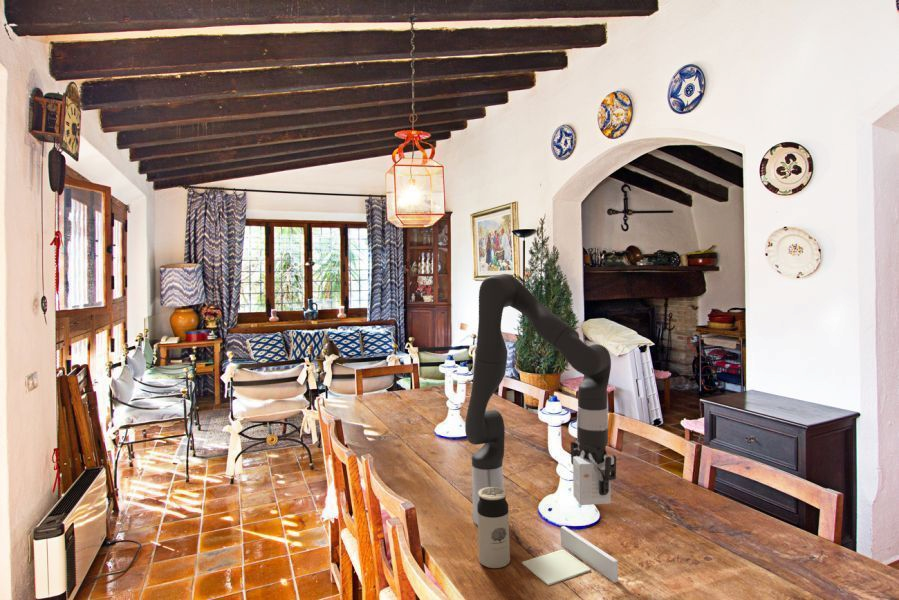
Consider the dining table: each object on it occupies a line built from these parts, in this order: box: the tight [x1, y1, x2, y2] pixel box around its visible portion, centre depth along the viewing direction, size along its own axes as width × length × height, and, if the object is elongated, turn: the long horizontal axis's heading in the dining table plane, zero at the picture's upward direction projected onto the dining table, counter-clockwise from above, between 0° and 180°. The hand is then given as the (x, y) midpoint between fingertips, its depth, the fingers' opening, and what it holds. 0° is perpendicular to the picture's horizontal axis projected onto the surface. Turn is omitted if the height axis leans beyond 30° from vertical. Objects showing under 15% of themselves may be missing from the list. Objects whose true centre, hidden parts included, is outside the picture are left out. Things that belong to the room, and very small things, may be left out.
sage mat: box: [521, 548, 592, 586], centre depth 130 cm, size 11×13×1 cm
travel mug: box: [477, 487, 511, 569], centre depth 133 cm, size 8×8×18 cm
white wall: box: [560, 525, 619, 583], centre depth 132 cm, size 20×1×5 cm, turn 26°
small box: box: [572, 455, 612, 506], centre depth 130 cm, size 8×6×10 cm
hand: (592, 488), depth 131 cm, fingers closed on small box, 7 cm apart
